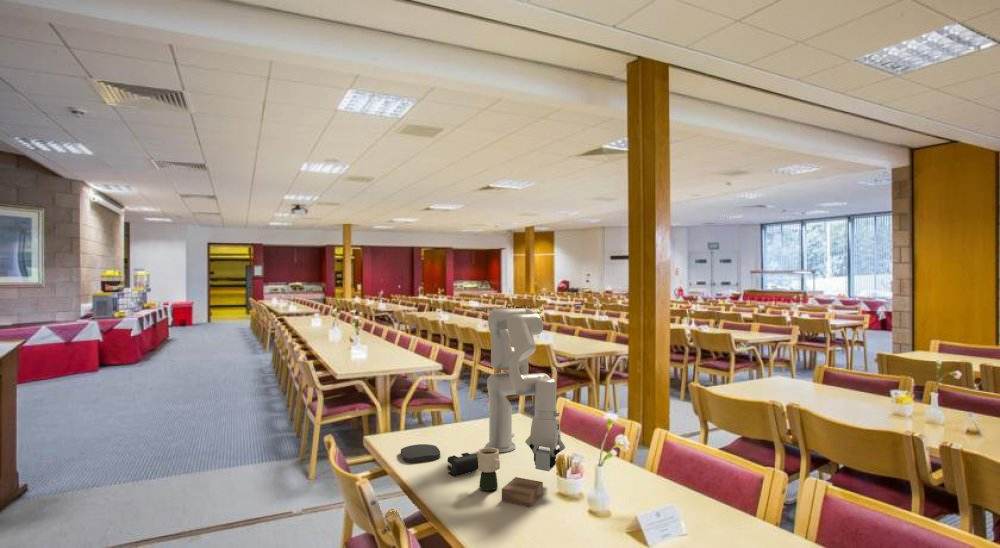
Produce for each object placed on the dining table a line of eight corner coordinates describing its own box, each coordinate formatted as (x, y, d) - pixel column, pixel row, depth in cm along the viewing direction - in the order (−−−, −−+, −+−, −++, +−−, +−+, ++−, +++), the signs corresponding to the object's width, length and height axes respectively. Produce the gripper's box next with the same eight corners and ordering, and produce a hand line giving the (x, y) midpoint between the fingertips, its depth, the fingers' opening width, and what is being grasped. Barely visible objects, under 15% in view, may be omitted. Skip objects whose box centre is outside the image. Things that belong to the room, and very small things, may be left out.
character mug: (507, 490, 179) (507, 452, 179) (491, 496, 175) (491, 457, 175) (485, 481, 187) (485, 444, 187) (470, 486, 183) (470, 449, 183)
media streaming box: (442, 460, 209) (442, 452, 209) (405, 465, 204) (405, 457, 204) (433, 449, 223) (433, 441, 223) (399, 453, 218) (399, 445, 218)
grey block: (540, 463, 189) (540, 447, 189) (553, 466, 187) (554, 449, 186) (535, 468, 184) (535, 451, 184) (548, 471, 182) (549, 454, 182)
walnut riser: (515, 488, 181) (515, 476, 181) (542, 493, 177) (542, 482, 177) (501, 501, 171) (501, 488, 171) (530, 507, 167) (530, 494, 167)
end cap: (456, 480, 189) (456, 461, 189) (446, 474, 195) (446, 455, 195) (479, 473, 195) (479, 455, 195) (469, 468, 200) (469, 450, 200)
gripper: (572, 414, 185) (571, 465, 185) (527, 408, 192) (526, 457, 193) (565, 420, 178) (564, 473, 178) (518, 413, 185) (518, 464, 186)
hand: (544, 464), depth 185 cm, fingers closed on grey block, 5 cm apart
